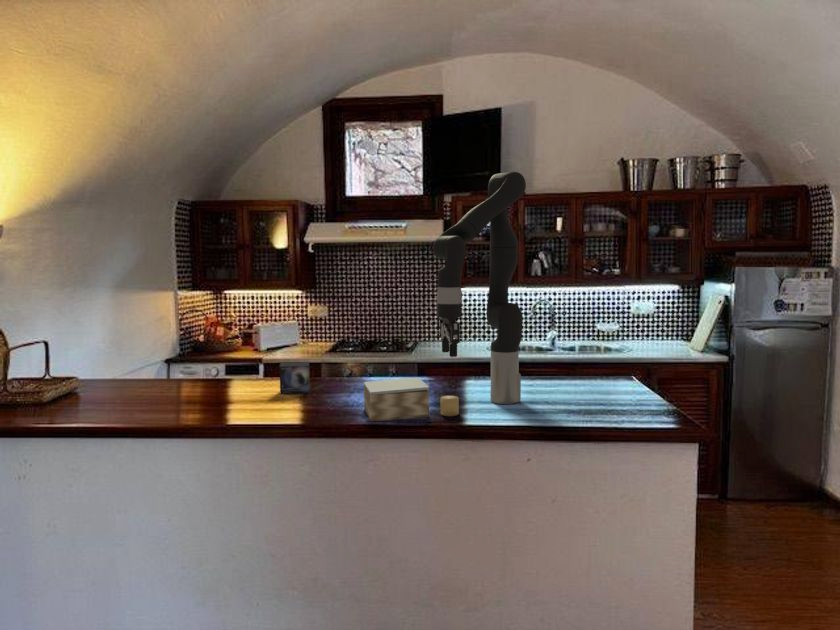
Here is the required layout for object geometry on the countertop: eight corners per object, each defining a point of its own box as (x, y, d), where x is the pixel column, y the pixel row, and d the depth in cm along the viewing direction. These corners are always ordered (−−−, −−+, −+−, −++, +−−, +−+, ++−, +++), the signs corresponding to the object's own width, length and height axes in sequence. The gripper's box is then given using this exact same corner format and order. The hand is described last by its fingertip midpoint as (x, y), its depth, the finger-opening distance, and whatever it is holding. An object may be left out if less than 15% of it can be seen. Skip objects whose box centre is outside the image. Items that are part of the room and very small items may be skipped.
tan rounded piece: (455, 410, 188) (455, 395, 187) (460, 415, 183) (460, 399, 182) (438, 412, 187) (438, 396, 186) (443, 416, 181) (443, 400, 181)
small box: (279, 395, 211) (278, 366, 209) (280, 391, 217) (279, 362, 216) (310, 393, 213) (309, 364, 212) (309, 389, 219) (309, 361, 218)
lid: (418, 379, 194) (418, 377, 194) (429, 389, 180) (429, 387, 180) (363, 384, 190) (363, 382, 190) (370, 395, 176) (370, 392, 176)
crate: (418, 405, 195) (418, 381, 194) (429, 417, 181) (429, 391, 180) (364, 409, 191) (363, 384, 190) (370, 421, 177) (370, 395, 176)
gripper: (468, 303, 175) (468, 357, 177) (454, 299, 189) (454, 350, 190) (443, 304, 173) (443, 359, 175) (431, 300, 187) (431, 351, 189)
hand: (449, 354), depth 183 cm, fingers open, 8 cm apart
